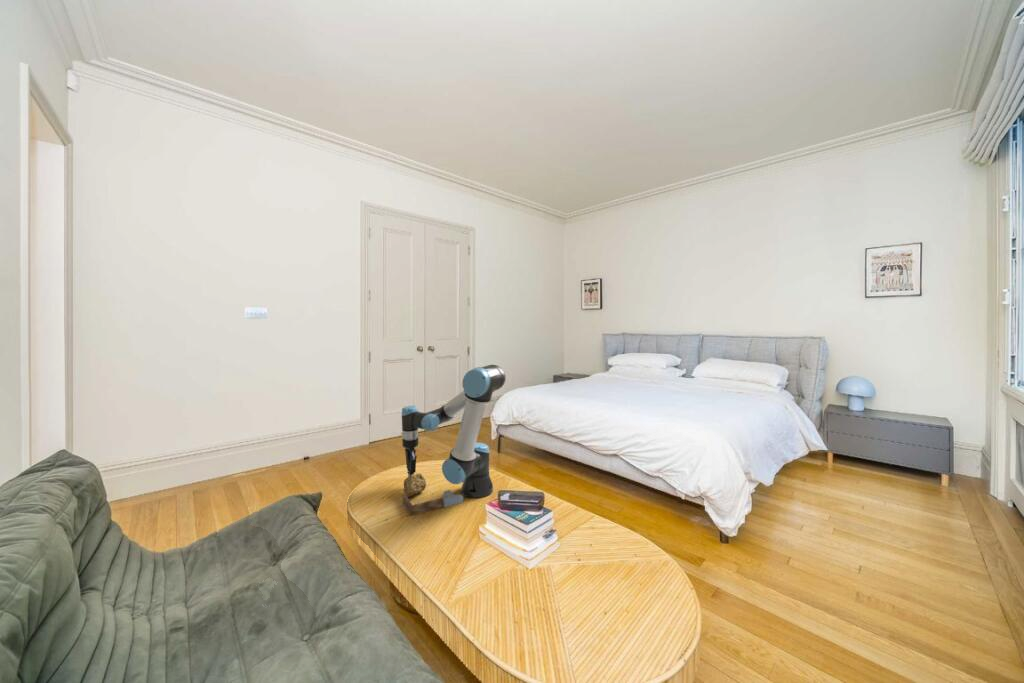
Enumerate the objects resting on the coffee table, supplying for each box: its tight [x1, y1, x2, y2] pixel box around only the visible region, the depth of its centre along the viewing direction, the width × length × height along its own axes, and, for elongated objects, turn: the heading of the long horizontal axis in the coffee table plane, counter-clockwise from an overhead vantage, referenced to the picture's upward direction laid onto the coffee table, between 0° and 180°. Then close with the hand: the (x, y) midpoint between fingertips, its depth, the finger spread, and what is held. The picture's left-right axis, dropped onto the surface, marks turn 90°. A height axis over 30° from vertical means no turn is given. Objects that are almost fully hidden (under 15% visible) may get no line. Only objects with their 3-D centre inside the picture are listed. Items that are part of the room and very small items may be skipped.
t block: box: [442, 489, 464, 508], centre depth 180 cm, size 9×9×3 cm
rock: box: [403, 472, 427, 498], centre depth 186 cm, size 12×10×10 cm
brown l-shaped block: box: [402, 494, 444, 516], centre depth 176 cm, size 15×12×4 cm
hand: (411, 484), depth 193 cm, fingers closed
